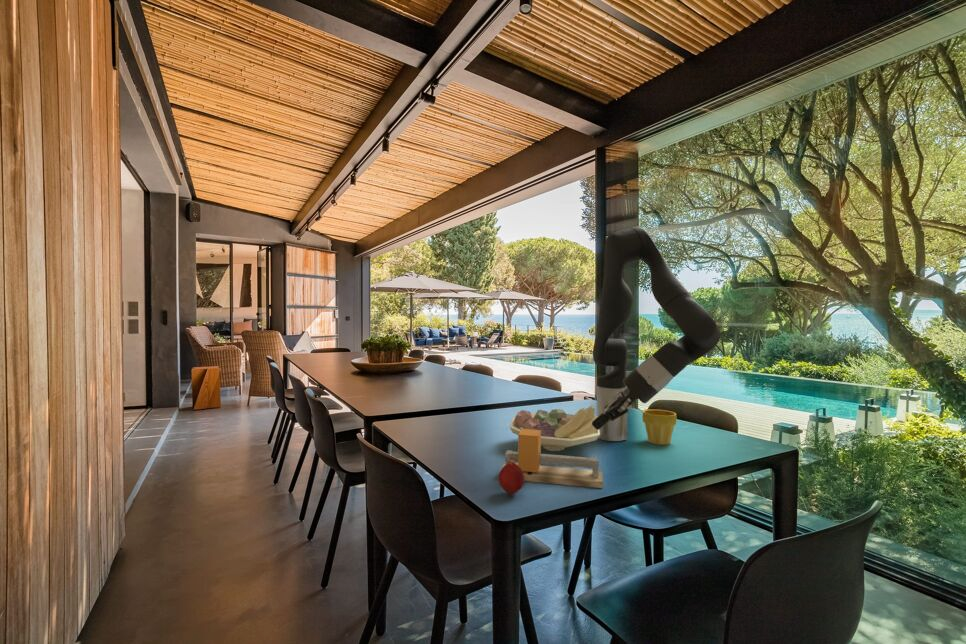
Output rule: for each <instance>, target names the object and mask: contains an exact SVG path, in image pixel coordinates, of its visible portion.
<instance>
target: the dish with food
mask: <svg viewBox="0 0 966 644" xmlns="http://www.w3.org/2000/svg"><path fill="white" fill-rule="evenodd" d="M595 414H596V408H595V407H594V405H593V404H591V405H590V406H589V407H587V408H585V407H583V408H580V409H579V410H578V411H577V412H576V413H575V414H573V413H570V414H569V413H566V412H565V410H564V409H562V408H555V409H551V410H550V412H549V411H547V410H541V409H537V411H536V412H531V411H527V410H525V409H523V410H522V409H521V410H520V411H517V413H516V415H515V416H513V418H512V421H511V422H510V424H509V426H508V427H509V429H510V431H511V432H512V433H513V434H515V435H517V436H518V434H519V433H520V431H521V429H531V430H541V446H542V448H543V449H545V450H547V451H549V452H550V451H553V452H561V451H564V450H565V448H570V447H573V446H574V447H575V446H578V445H581V444H586V443H590V442H593V441H594V442H595V441H597V440H598V439H599V438H598V437H599V435H600V432H599V430H597V429H595V427H594V426H593V425H592V421H593V420H595V419H596V418H597V417H598V416H595Z"/></svg>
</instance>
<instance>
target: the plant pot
mask: <svg viewBox="0 0 966 644" xmlns="http://www.w3.org/2000/svg"><path fill="white" fill-rule="evenodd" d="M642 422H643V423H644V426H645V430H646V436H647V441H648V442H649V443H651V444H653V445H659V446H660V445H661V446H666V445H667V446H669V445H670V444H671V440H672V436H673V432H674V427H675V426H676V425H677V413H676V412H674V411H670V410H664V409H644V410H643V411H642Z"/></svg>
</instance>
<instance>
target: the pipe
mask: <svg viewBox="0 0 966 644" xmlns="http://www.w3.org/2000/svg"><path fill="white" fill-rule="evenodd" d="M509 460H513V461H514V463H518V451H513V450H511V449H510V450H509V449H508V450H506V451H505V453H504V463H505V465H507V464H508V463H509V462H508V461H509ZM599 461H600V459H599V457H597V456H596V457H584V456H573V455H564V454H563V455H561V454H552V453H551V454H548V453H541V454H539V464H540V465H545V466H556V467H568V468H579V469H591V470H592V477H593V478H598V476H599V471H600V470H599V466H600V464H599V463H600V462H599Z"/></svg>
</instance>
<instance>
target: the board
mask: <svg viewBox="0 0 966 644" xmlns="http://www.w3.org/2000/svg"><path fill="white" fill-rule="evenodd" d="M514 463H515V464H517V465H518V462H514ZM504 466H505V462H504V463H503V465H502V467H501V469H502V468H503V467H504ZM501 469H500V470H499V472H498V474H499V473H500V471H501ZM523 474H524V479H525V480H524V482H534V483H535V482H536V483H541V484H542V483H543V484H544V483H545V484H553V485H555V484H557V485H563V486H565V485H566V486H575V487H585V488H596V489H604V479H603V470H599V476H598V478H593V477H592V469H587V468H576V467H564V466H553V465H542V464H540V468H539V471H538V472H527V471H523Z"/></svg>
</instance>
